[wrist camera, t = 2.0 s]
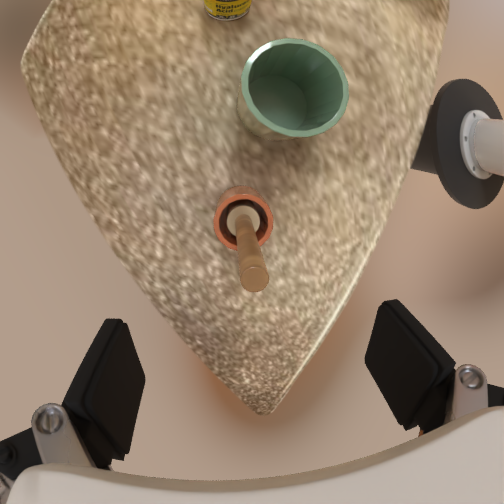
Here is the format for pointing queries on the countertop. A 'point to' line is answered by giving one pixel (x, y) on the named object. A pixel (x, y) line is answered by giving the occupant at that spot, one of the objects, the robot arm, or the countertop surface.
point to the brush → (247, 244)
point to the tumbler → (291, 90)
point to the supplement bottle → (227, 8)
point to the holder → (221, 215)
